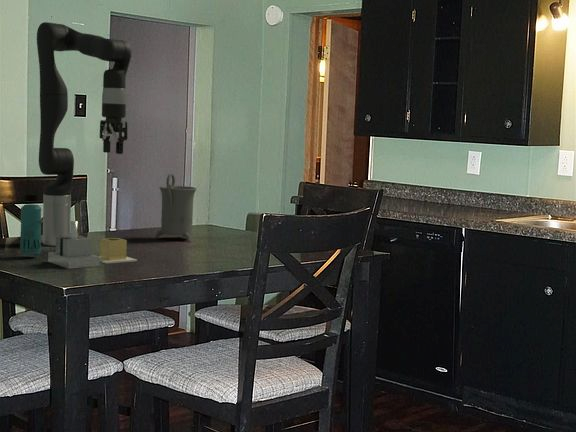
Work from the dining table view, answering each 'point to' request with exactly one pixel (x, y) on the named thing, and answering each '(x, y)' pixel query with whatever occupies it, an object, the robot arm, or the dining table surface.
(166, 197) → the grey looped tall container
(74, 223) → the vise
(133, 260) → the pad
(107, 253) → the brass collar
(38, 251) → the beverage bottle
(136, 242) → the dining table surface
